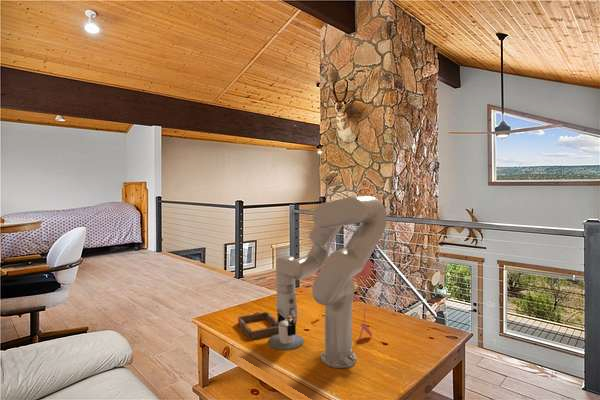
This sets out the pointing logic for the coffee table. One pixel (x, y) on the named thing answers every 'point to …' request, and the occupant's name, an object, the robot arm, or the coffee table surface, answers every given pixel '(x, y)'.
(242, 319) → the brown rectangular frame
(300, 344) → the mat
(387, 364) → the coffee table surface
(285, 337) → the white cylinder
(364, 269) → the figurine
